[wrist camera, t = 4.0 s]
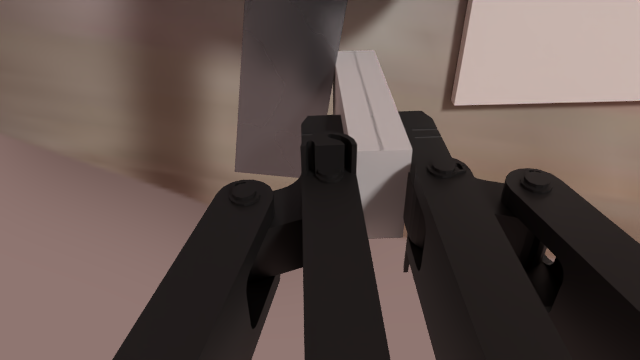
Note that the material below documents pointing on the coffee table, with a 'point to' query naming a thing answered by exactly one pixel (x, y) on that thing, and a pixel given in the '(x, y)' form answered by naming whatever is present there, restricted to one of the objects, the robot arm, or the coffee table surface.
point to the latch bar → (284, 79)
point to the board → (548, 52)
